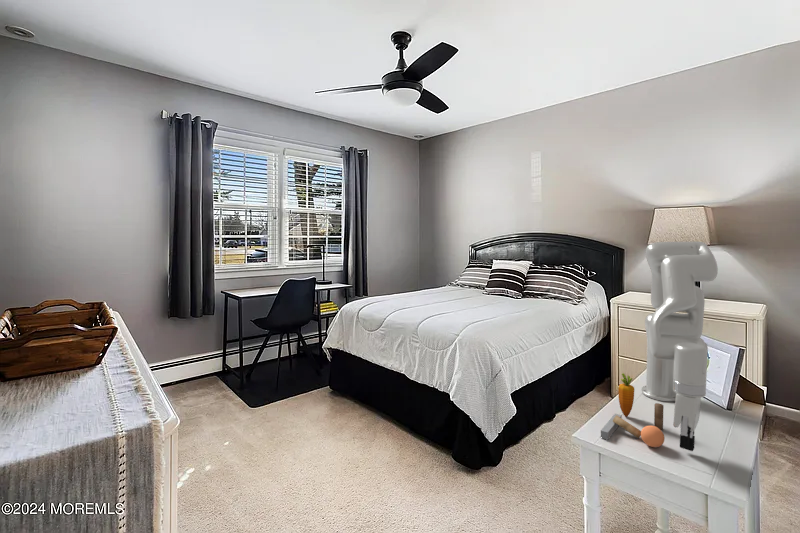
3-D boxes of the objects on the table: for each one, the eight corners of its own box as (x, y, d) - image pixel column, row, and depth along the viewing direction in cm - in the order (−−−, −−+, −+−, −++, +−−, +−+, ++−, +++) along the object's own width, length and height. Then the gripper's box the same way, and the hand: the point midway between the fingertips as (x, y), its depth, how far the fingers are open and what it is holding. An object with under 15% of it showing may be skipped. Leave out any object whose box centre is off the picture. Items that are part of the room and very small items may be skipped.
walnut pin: (655, 425, 130) (655, 402, 129) (663, 428, 128) (664, 404, 127) (653, 429, 128) (653, 405, 127) (662, 431, 126) (662, 407, 125)
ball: (659, 420, 119) (668, 437, 119) (637, 422, 123) (646, 439, 123) (659, 432, 114) (668, 451, 115) (636, 434, 118) (645, 452, 118)
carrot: (636, 420, 134) (637, 377, 132) (620, 419, 135) (621, 377, 133) (631, 413, 138) (631, 372, 137) (615, 412, 139) (616, 371, 138)
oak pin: (640, 436, 124) (614, 420, 129) (643, 430, 123) (617, 414, 129) (637, 439, 122) (611, 422, 128) (640, 433, 122) (614, 416, 127)
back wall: (614, 420, 134) (615, 413, 134) (621, 422, 133) (621, 415, 133) (600, 437, 124) (600, 430, 124) (607, 440, 123) (607, 432, 123)
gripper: (678, 375, 120) (676, 433, 122) (667, 392, 110) (665, 455, 112) (709, 381, 115) (707, 441, 117) (701, 400, 105) (698, 465, 107)
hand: (686, 448), depth 115 cm, fingers closed
